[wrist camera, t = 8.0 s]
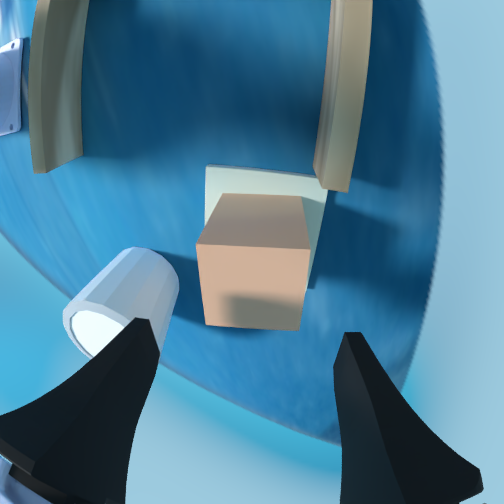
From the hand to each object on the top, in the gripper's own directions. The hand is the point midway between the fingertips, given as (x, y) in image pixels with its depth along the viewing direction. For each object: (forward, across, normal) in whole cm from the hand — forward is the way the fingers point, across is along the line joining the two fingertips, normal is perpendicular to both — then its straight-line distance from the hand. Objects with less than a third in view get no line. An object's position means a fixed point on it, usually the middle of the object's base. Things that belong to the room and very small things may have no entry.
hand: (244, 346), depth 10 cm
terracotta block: (+9, 0, 0) cm, 9 cm away
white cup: (+10, +9, +4) cm, 14 cm away
